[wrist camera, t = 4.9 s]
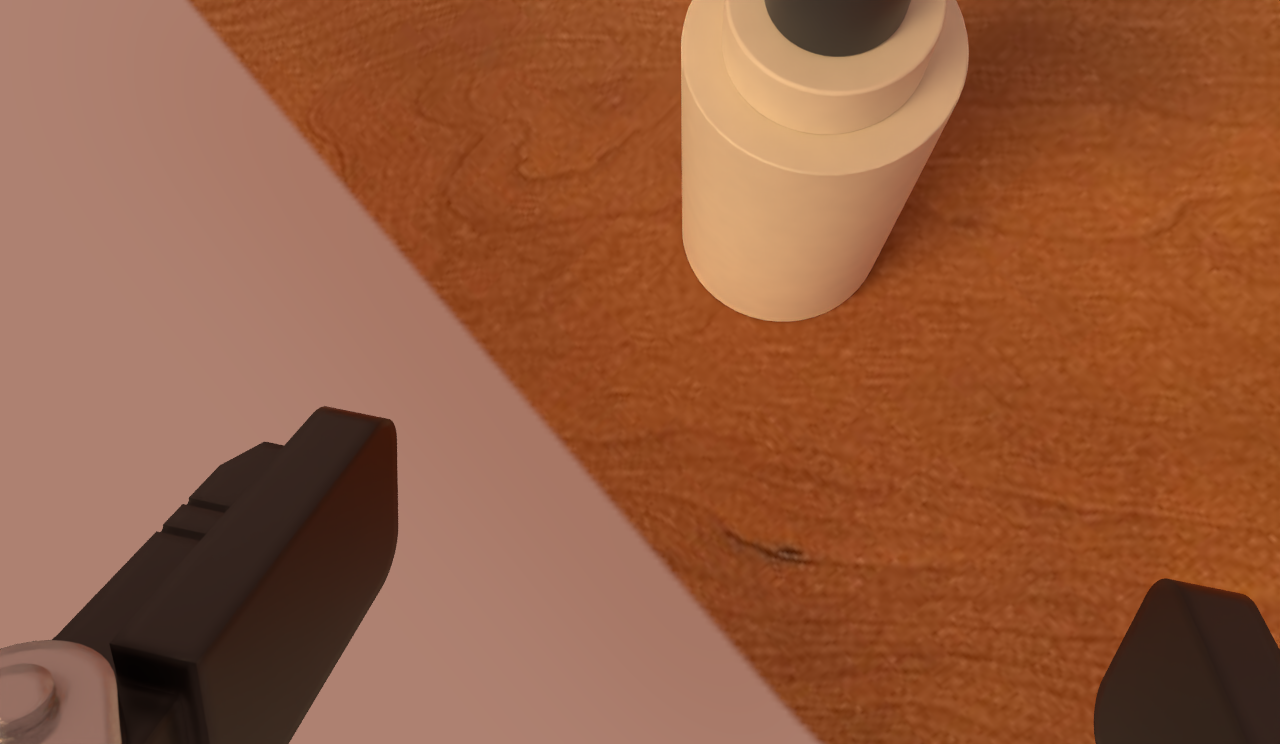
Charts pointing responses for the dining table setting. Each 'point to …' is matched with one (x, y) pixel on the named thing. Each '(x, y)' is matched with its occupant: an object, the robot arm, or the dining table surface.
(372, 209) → the dining table surface
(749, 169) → the cream bottle
